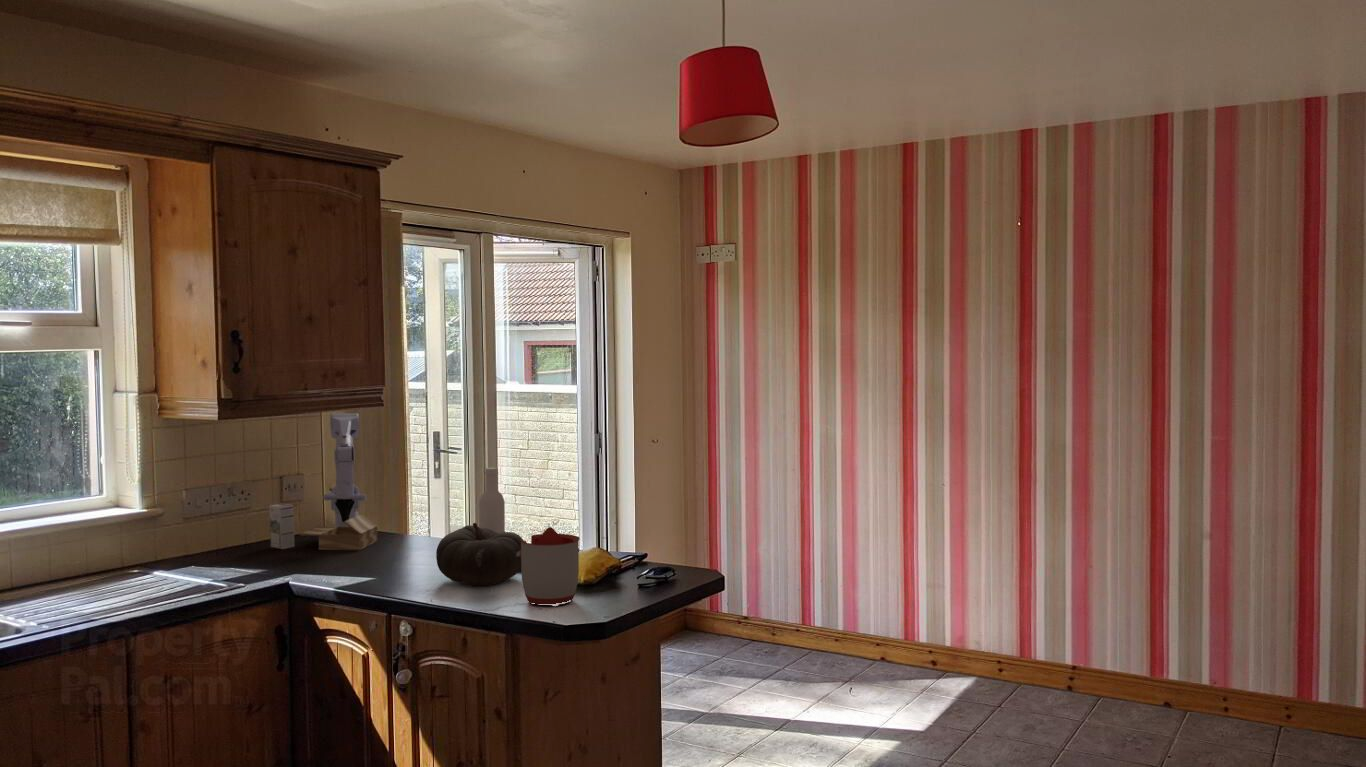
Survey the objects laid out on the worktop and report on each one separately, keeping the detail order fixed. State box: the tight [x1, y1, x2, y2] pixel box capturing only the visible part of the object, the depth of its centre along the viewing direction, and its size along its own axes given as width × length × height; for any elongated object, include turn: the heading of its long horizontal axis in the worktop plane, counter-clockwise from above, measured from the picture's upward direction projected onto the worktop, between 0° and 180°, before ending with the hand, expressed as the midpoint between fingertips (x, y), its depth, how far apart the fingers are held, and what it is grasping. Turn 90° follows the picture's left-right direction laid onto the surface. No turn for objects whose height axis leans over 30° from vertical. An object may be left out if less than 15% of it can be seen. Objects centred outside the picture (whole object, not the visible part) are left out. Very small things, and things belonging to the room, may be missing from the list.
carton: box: [299, 526, 378, 551], centre depth 354 cm, size 16×21×5 cm
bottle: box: [478, 467, 506, 533], centre depth 323 cm, size 8×8×30 cm
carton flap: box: [344, 514, 378, 535], centre depth 354 cm, size 14×7×1 cm
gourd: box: [435, 522, 524, 586], centre depth 301 cm, size 25×25×17 cm
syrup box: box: [269, 503, 295, 550], centre depth 351 cm, size 6×6×14 cm
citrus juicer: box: [516, 526, 580, 604], centre depth 275 cm, size 16×17×20 cm
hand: (345, 521), depth 354 cm, fingers closed
